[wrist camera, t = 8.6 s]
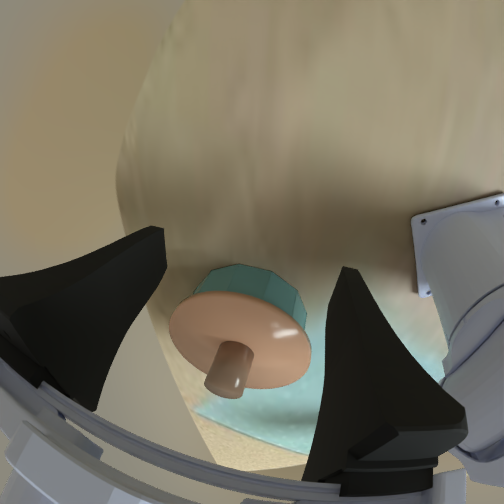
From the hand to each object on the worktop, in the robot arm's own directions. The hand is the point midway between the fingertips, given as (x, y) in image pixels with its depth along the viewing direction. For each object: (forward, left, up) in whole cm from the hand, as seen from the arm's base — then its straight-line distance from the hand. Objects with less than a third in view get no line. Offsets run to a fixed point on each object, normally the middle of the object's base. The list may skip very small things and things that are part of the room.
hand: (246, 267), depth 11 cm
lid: (+8, +12, -6) cm, 16 cm away
